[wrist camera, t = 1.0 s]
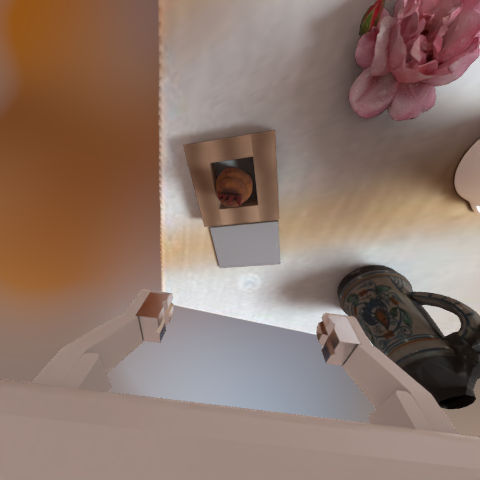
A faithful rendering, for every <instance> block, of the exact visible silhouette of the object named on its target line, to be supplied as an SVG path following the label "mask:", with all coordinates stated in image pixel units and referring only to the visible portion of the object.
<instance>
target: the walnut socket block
mask: <svg viewBox="0 0 480 480" xmlns="http://www.w3.org/2000/svg"><path fill="white" fill-rule="evenodd" d="M183 146H184V150H185V154H186V158H187V162H188V166H189V169H190V173H191V177H192V181H193V185H194V189H195V192H196V196H197V200H198V204H199V208H200V212H201V215H202V219H203V223H204V227H207V226H217V225H227V224H237V223H247V222H257V221H268V220H278V219H279V202H278V181H277V160H276V139H275V130H271V131H265V132H259V133H253V134H247V135H241V136H235V137H229V138H223V139H217V140H211V141H205V142H199V143H193V144H187V145H183ZM247 157H253V160H254V170H255V179H256V189H257V199H254V200H246V201H245V202H243V203H242V204H241V206H237V207H227V206H225V205H223V204H222V203H221V202H220V201H219V199H218V197H217V190H216V180H217V173H216V168H215V163H214V162H220V161H226V160H233V159H240V158H247Z"/></svg>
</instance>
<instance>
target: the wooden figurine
mask: <svg viewBox="0 0 480 480" xmlns="http://www.w3.org/2000/svg"><path fill="white" fill-rule="evenodd" d="M252 187H253V183H252V179H251V177H250V176H249V175H248V174H247V173H246V172H244V171H243V170H241V169H238V168H235V167H229V168H226V169H224V170H223V171H222V172H221V173H220V174H219V175H218V178H217V180H216V190H217V197H218V199H219V201H220V202H221V203H222V204H223V205H225V206H227V207H237V206H241V204H242V203H243V202H245V201H246V200H247V199H248V198H249V197H250V195H251V193H252Z"/></svg>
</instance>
